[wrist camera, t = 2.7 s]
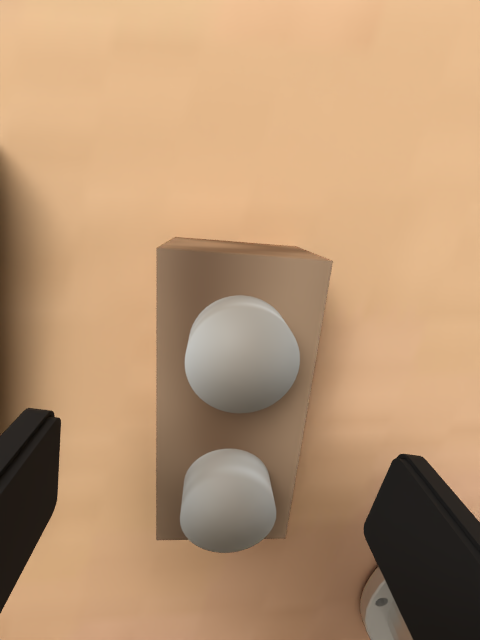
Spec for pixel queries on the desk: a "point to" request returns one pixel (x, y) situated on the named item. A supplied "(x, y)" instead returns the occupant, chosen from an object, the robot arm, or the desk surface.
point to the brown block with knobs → (233, 386)
